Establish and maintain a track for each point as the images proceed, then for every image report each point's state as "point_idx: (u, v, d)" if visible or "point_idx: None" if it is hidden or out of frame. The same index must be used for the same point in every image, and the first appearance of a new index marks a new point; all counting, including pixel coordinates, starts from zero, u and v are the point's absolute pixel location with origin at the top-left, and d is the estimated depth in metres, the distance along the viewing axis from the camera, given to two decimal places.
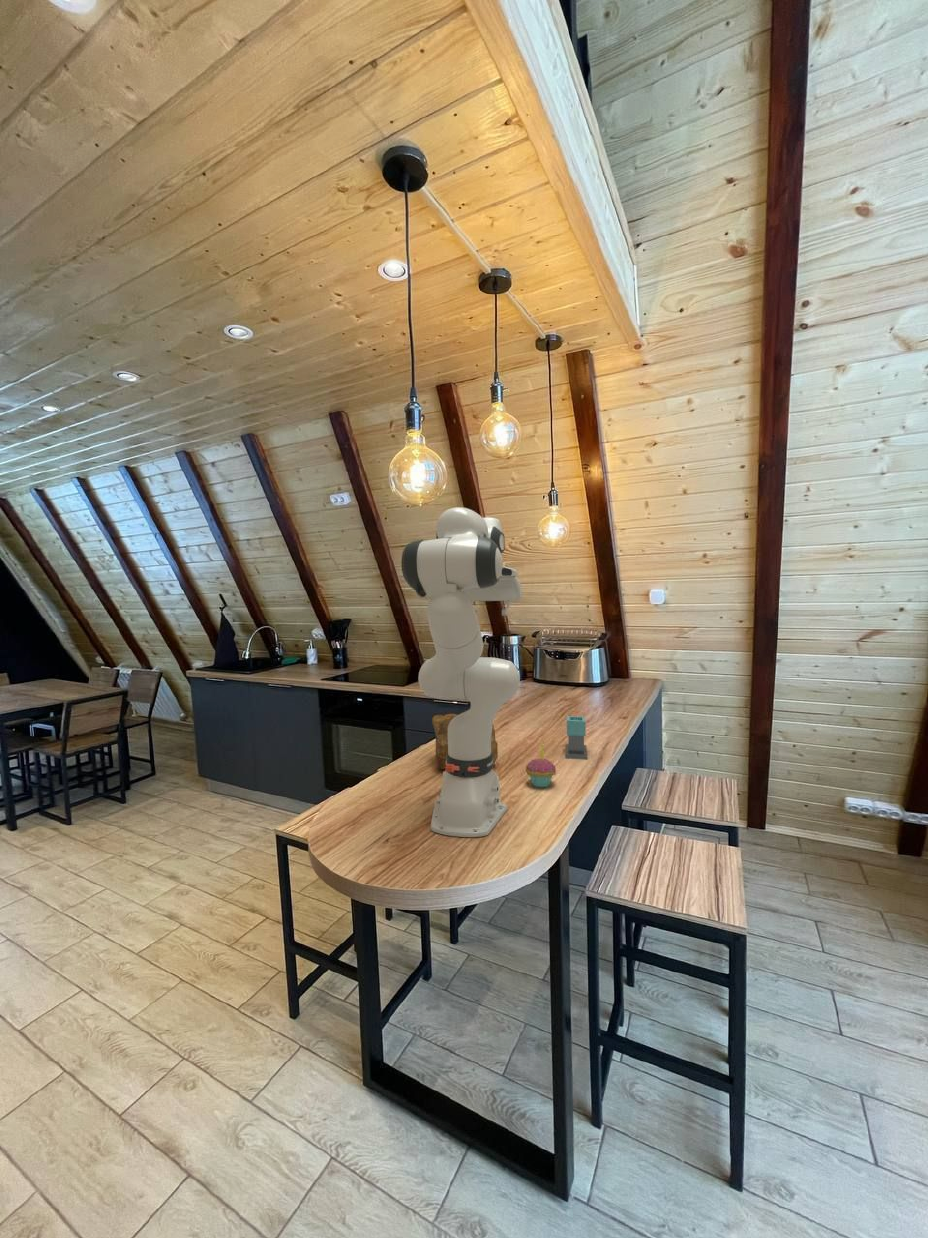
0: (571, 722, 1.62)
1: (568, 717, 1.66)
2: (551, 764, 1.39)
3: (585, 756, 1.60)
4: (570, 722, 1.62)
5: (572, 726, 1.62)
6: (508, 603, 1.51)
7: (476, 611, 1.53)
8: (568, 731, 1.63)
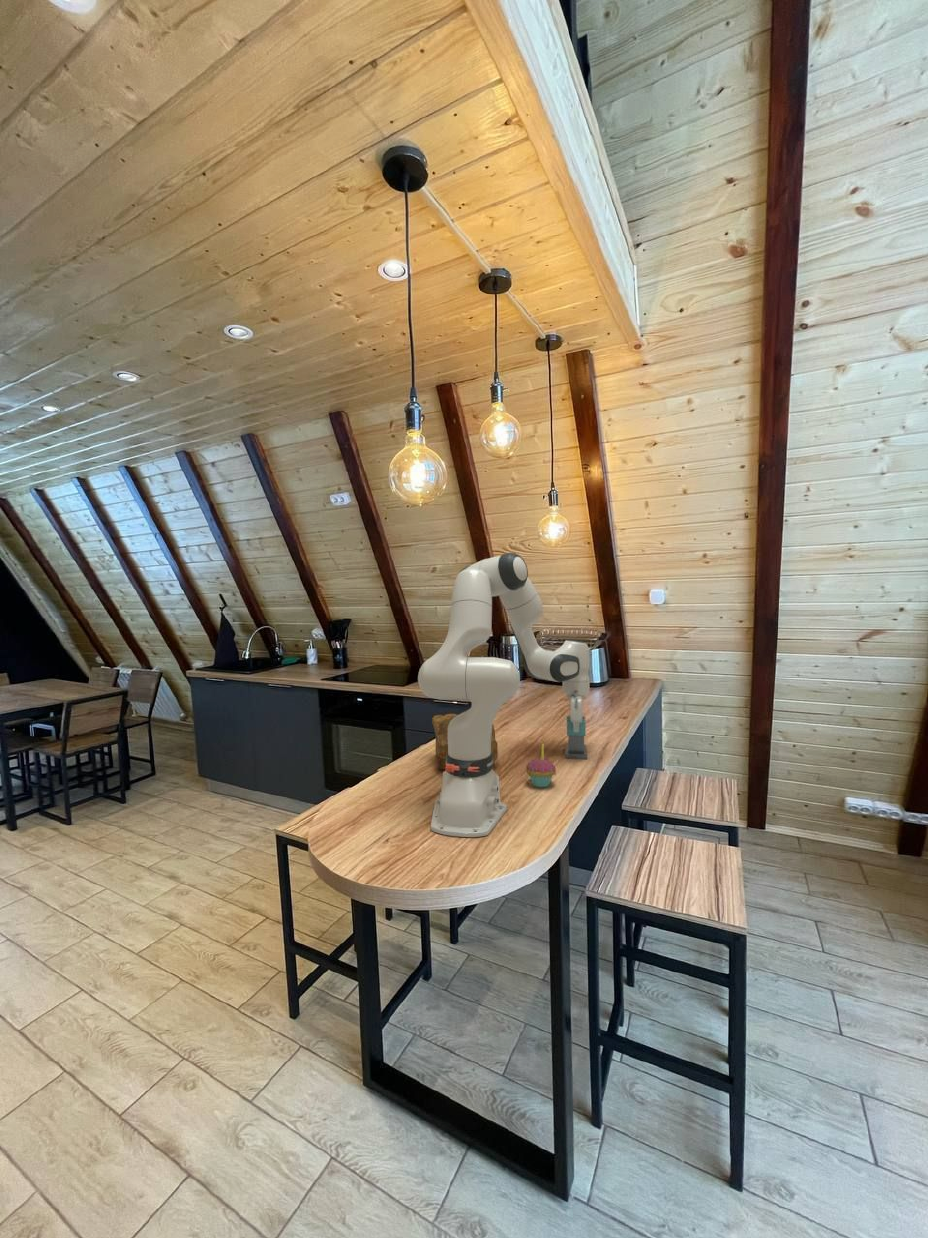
0: (571, 722, 1.62)
1: (568, 717, 1.66)
2: (551, 764, 1.39)
3: (585, 756, 1.60)
4: (570, 722, 1.62)
5: (572, 726, 1.62)
6: None
7: None
8: (568, 731, 1.63)
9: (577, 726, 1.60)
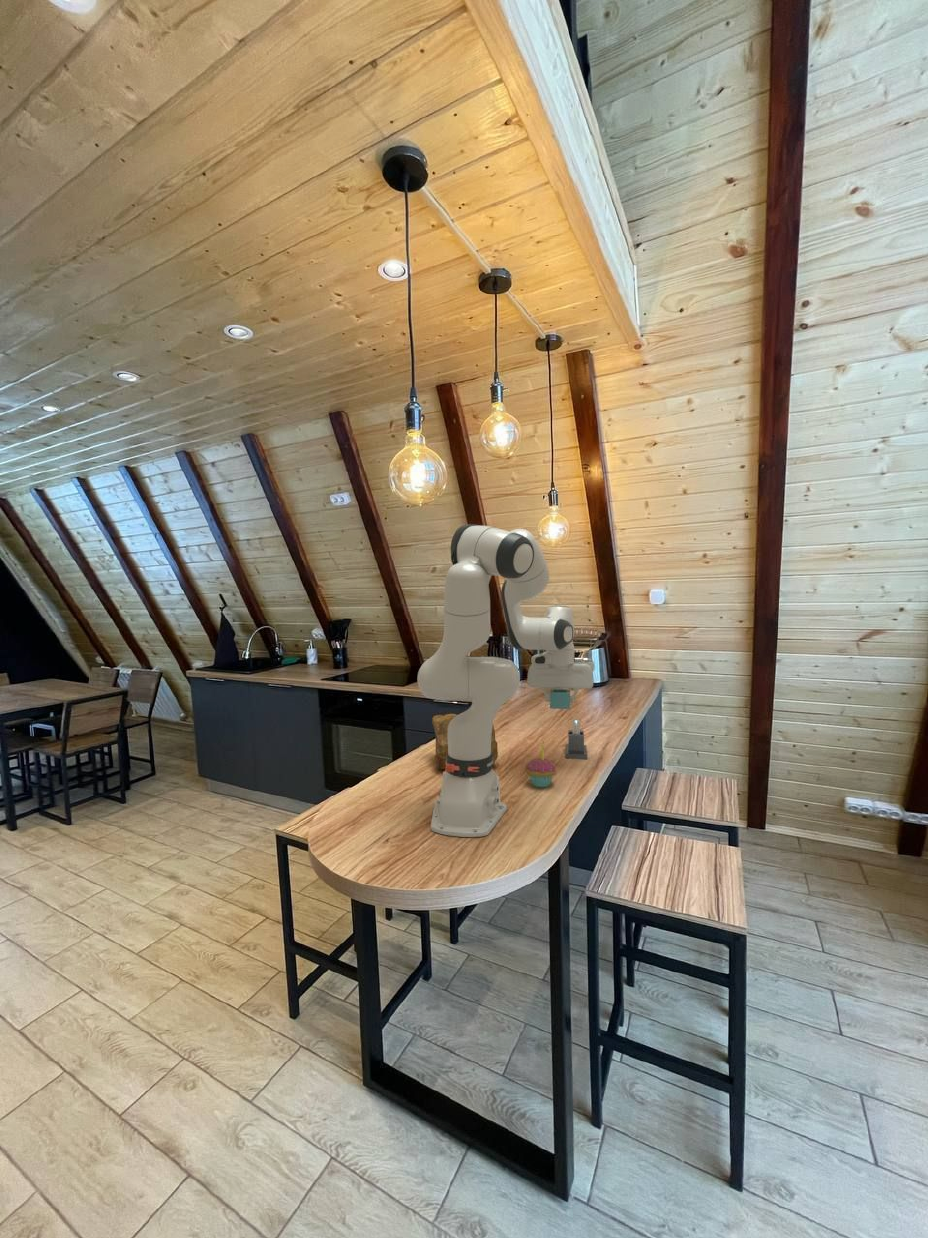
0: (569, 693, 1.51)
1: (557, 692, 1.51)
2: (551, 764, 1.39)
3: (585, 756, 1.60)
4: (569, 694, 1.51)
5: None
6: None
7: None
8: (569, 704, 1.51)
9: None
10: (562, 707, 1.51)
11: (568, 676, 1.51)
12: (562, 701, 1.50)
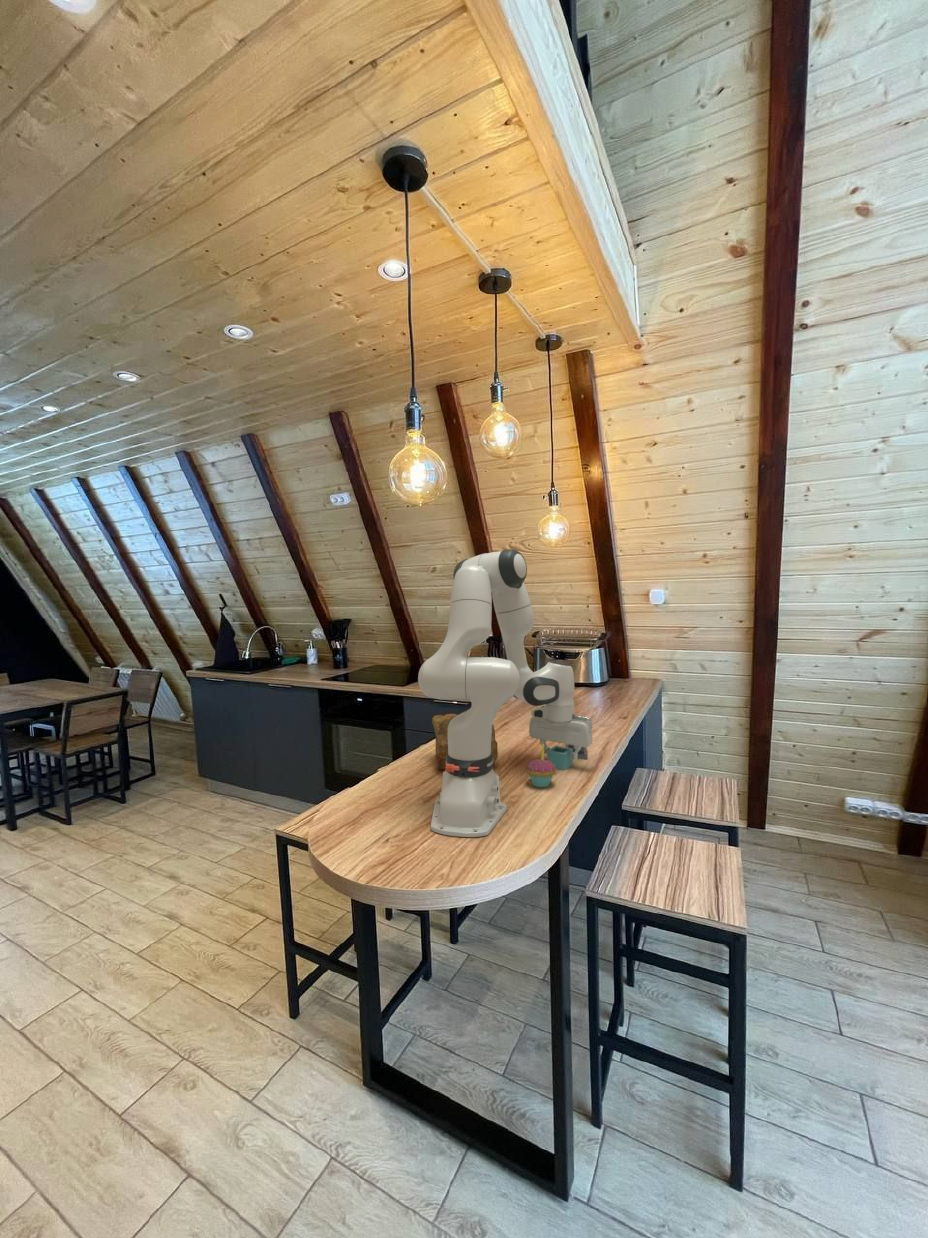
0: (567, 754, 1.52)
1: (554, 751, 1.53)
2: (551, 764, 1.39)
3: (585, 756, 1.60)
4: (566, 755, 1.52)
5: (567, 758, 1.52)
6: None
7: None
8: (565, 765, 1.51)
9: (577, 752, 1.52)
10: (558, 767, 1.52)
11: (565, 732, 1.51)
12: (558, 761, 1.52)
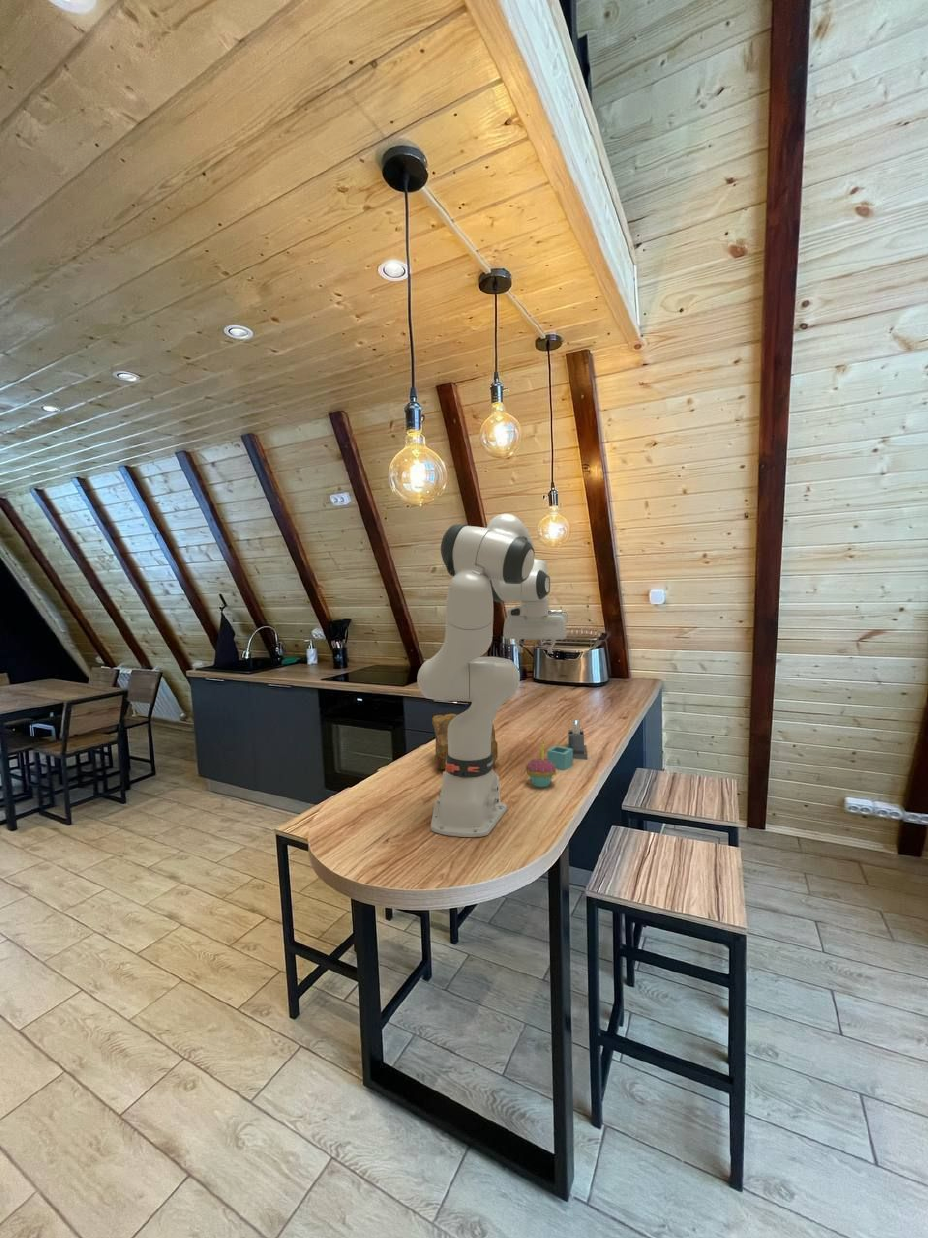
0: (567, 754, 1.52)
1: (554, 751, 1.53)
2: (551, 764, 1.39)
3: (585, 756, 1.60)
4: (566, 755, 1.52)
5: (567, 758, 1.52)
6: None
7: None
8: (565, 765, 1.51)
9: None
10: (558, 767, 1.52)
11: (543, 628, 1.55)
12: (558, 761, 1.52)
